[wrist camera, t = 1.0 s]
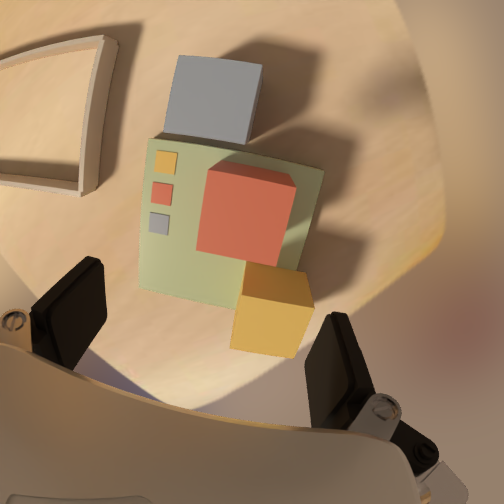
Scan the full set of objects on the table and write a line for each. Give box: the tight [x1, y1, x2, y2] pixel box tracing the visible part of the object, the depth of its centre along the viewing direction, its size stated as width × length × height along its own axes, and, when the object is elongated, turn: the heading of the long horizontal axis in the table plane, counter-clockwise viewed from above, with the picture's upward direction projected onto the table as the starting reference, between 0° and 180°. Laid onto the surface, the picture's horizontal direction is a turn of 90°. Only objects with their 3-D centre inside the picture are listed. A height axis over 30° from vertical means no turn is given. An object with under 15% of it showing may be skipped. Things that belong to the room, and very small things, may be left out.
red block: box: [196, 160, 297, 267], centre depth 22 cm, size 6×6×6 cm
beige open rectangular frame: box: [0, 35, 119, 197], centre depth 21 cm, size 16×32×3 cm, turn 78°
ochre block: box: [230, 261, 315, 359], centre depth 26 cm, size 6×6×6 cm
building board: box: [139, 138, 325, 310], centre depth 27 cm, size 16×16×1 cm
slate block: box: [163, 55, 263, 145], centre depth 20 cm, size 6×6×6 cm
